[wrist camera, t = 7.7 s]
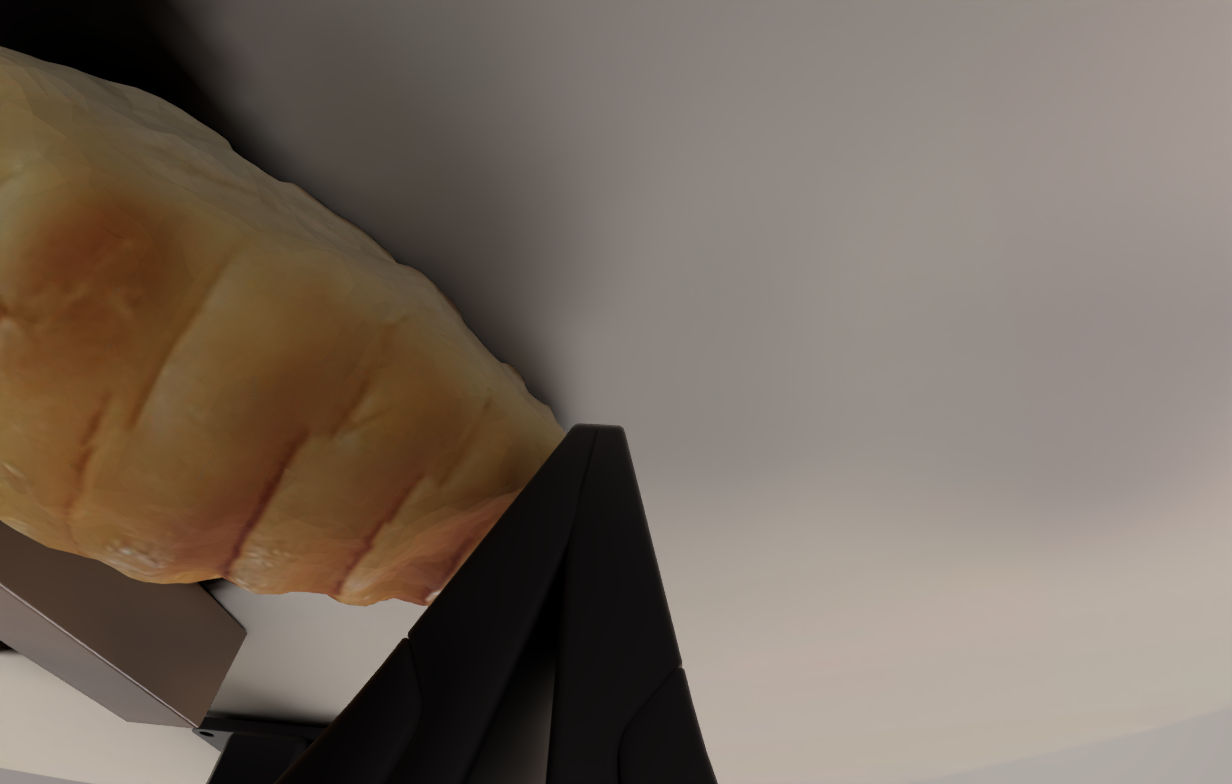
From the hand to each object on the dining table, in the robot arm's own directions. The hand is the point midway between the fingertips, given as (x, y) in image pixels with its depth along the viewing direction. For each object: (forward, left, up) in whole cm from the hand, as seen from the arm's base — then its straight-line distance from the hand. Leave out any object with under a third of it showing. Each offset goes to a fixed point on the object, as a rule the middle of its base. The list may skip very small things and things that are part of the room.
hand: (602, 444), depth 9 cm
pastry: (0, +5, -2) cm, 5 cm away
